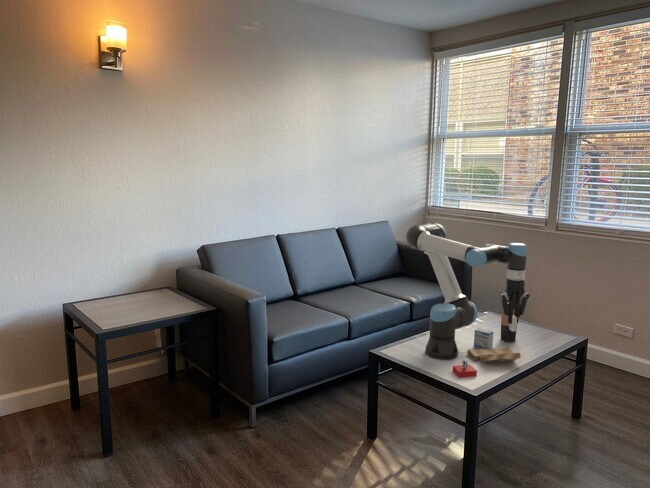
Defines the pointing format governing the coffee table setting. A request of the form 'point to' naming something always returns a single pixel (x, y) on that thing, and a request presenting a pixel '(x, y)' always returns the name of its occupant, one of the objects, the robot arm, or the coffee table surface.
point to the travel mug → (507, 328)
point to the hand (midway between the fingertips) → (512, 330)
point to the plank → (500, 357)
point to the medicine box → (483, 339)
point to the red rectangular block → (464, 370)
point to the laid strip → (487, 352)
